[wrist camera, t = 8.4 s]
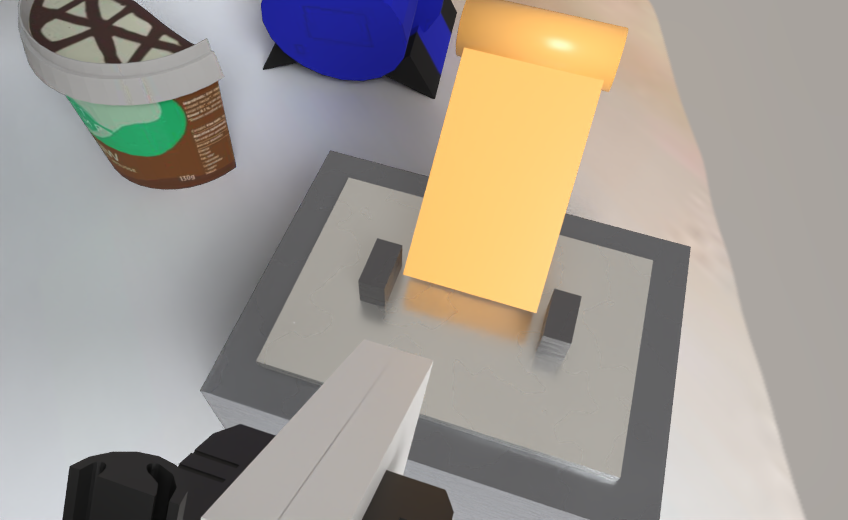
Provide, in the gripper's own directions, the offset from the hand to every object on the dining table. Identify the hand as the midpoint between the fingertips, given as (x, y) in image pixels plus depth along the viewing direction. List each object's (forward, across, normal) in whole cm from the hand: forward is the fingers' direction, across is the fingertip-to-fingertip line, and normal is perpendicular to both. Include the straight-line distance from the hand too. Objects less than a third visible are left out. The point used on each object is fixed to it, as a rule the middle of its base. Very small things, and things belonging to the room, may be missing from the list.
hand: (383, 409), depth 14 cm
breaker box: (+18, +1, -7) cm, 20 cm away
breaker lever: (+11, 0, 0) cm, 11 cm away
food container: (+25, -22, -1) cm, 33 cm away
